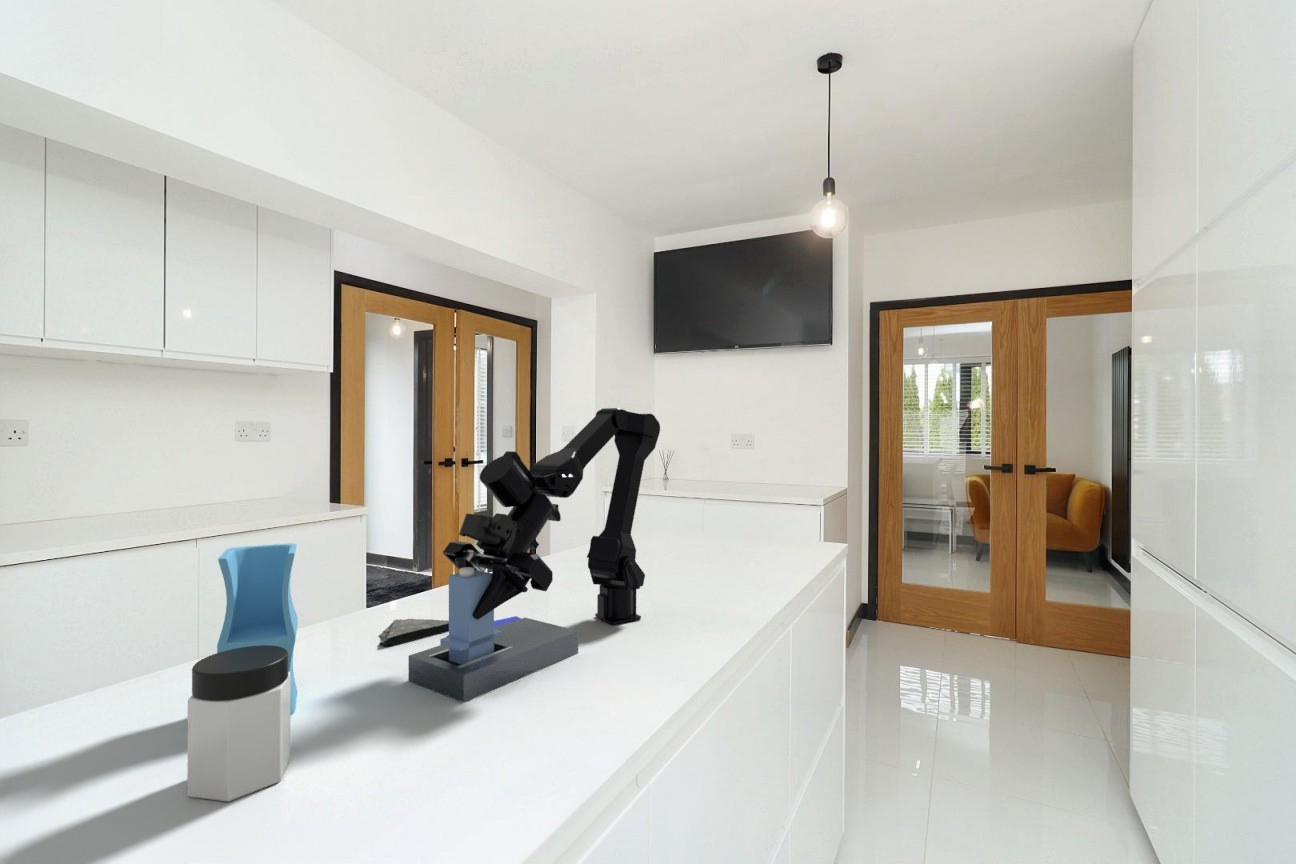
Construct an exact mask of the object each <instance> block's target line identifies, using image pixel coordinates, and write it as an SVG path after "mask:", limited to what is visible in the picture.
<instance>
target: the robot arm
mask: <svg viewBox="0 0 1296 864" xmlns="http://www.w3.org/2000/svg"><path fill="white" fill-rule="evenodd" d="M660 432H661V425H660V422H659V420H657V418H656V416H655V415H654V414H653V413H637V412H632V411H628V410H626V409H624V408H623V409H622V408H621V407H613V408H612V407H611V408H610V407H607V408H606V407H605V408H601V409H599V410H597V412H596V413H595V415H594V417H593V418H592V419H591V420H590V421H589V422H588V423H587V424H586V425H585V426H584V427H583V428H581V430H580V431H579V432H578V433H577V434H576V435H575V436H574V437H573V438H572V439H571V440H570V441H569V442H568V443H566V445H565V446H564V447H563V448H561V449H560V450H558V451H555V452H553V453H550V454H548V455H546V456H544V457H543V458H541V459H539V460H538V461H537V462H535V463H534V464H533V465H532V466H531V468H528V467H527V466H526V464H524V462H523V460H522V458H521V456H520V455H519V453H517V451H512V450H511V451H508V450H507V451H505V453H504V454H503V455H501V456H499V457H496V458H495V459H493V460H492V461H491V462H489V463H488V464H486V465H484V466H483V468H482V470H481V471H480V473H479V481H480V482H481V483H482V484H483V485H484V486H485V488H486V489H487V491H489V492H490V494H491V495H492V496H493V497H494V498H495V499H496V500H497V502H498V503H499V504H500V505H501V506H502V507H504V508H511V509H510V511H509V512H508V514H507V513H498V512H497V513H496V514H494V516H493V517H492V516H487V515H483V514H482V515H481V514H475V513H474V514H473V513H466V514H465V515H464V519H463V522H462V524H461V528H460V530H459V533H458V535H459V536H462V537H467V538H470V539H473V540H476V541H477V542H476V544H475V545H476V547H478V548H479V549H480V550H483V552H482V553H481V552H480V551H479V550H478V549H477V548H476V547H475V546H474V545H473V544H472V543H471V542H465V541H464V542H463V541H458V540H456V541H451V542H449V543H448V544H447V545H446V547H445V549H444V550H443V551H442V554H443V555H444V556H445V557H446V558H447V560H449V561H450V563H452V564H453V565H454V567H456V568H457V570H459V569H460V568H464V567H473V568H474V570H477V571H482V572H486V570H487V569H488V570H491V572H492V580H491V582H490V583H489V585H488V587H487V589H486V590H485V592H484V594H483V596H482V597H481V599H480V601H479V602H478V604H477V606H476V608H475V610H474V612H473V615H472V616H473V617H474V618H475V619H477V620H478V619H480V618H481V617H483V616H484V615H486V614H487V613H489V612H490V611H492V610H493V609H494V610H495V609H497V608H498V607H500V606H501V605H503V604H504V603H506V602H508V601H509V600H511V599H513V598H515V597H517V596H518V595H520V594H522V593H527V592H528V590H529V588H528V587H527V585H528V583H530V586H531V588H532V590H537V591H541V592H547V591H548V590H549V587H550V585H551V584H552V582H553V577H554V576H553V575H554V574H553V571H552V569H551V568H550V567H549V566H548V564H546V562H544V560H543V559H542V558H541V557H540V556H539V554H537V553H533V552H529V550H537V548H538V547H539V545H540V543H539V542H538V541H537V540H536V539H537V537H538V536H539V535H540V534H541V532H542V530H543V528H544V526H546V523H548V521H550V522H552V521H554V522H560V521H561V520H562V519H561V512H560V510H559V504H558V503H552V501H551V500H550V499H549V497H551V498H563V499H565V498H566V499H567V498H569V497H571V496H572V495H573V494H574V493H575V491H577V490H576V489H577V488H578V487H579V485H580V484H581V483H582V480H583V478H584V469H585V468H586V467H587V465H588V464H589V463H590V462H591V461H592V460H593V459H594V458H595V456H596V455H597V454H598V453H599V452H600V451H601V450H602V449H604V447H605V446H606V445H607V444H608V443H609V441H610V440H611V439H612V438H613V437H614V444H615V448H616V450H617V453H618V455H619V456H618V459H617V464H616V471H615V476H614V480H613V481H614V482H613V486H612V490H611V496H610V501H609V505H608V511H607V516H606V520H605V526H604V529H603V530H602V532H601V533H600V534H599V535H598V536H597V535H593V536H591V539H590V544H589V550H588V553H587V555H586V558H588V559H587V567H588V569H589V574H590V577H591V581H592V584H593V585H595V586H596V585H598V586H599V593H598V594H597V598H596V599H597V604H596V605H597V612H596V613H595V614H594V616H595V617H597V618H598V619H599V620H602V621H603V622H605V623H607V624H610V625H617V624H623V623H628V622H633V621H638V620H641V618H642V616H641V615H639V614H637V590H639V589H641V587H643V586H644V582H645V578H646V577H645V576H646V574H645V573H644V571H643V569H641V567H640V566H639V564H638V563H637V562H636V558H637V557H636V555H637V548H636V546H635V543H634V540H633V537H632V529H633V524H634V520H635V519H634V518H635V514H636V508H637V504H638V503H637V502H638V497H639V492H640V487H641V480H642V476H643V470H644V465H645V461H646V460H647V458H648V457H649V456H650V455H651V453H652V452H654V450H655V448H656V447H657V443H658V440H659V436H660Z"/></svg>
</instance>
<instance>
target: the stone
mask: <svg viewBox="0 0 1296 864" xmlns="http://www.w3.org/2000/svg"><path fill="white" fill-rule="evenodd" d="M443 633H449V620H444V619H443V620H439V619H424V618H422V619H421V618H418V619H417V618H407V619H402V618H401V619H394V620H393V621H392V623H390V624H389V625H388V627H387V628H385V629H384V630H383V631H382V632H381V633H380V634H378V637H380V638H381V639H382V640H381V641H380V642H379V646H388V645H389V646H399V645H404V644H407V643H410V642H414V641H419V640H421V639H425V638H428V637H429V638H430V637H433V636H437V635H440V634H443Z"/></svg>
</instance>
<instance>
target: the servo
mask: <svg viewBox="0 0 1296 864" xmlns="http://www.w3.org/2000/svg"><path fill="white" fill-rule="evenodd" d="M458 570H459V573H454V574H450V575H449V574H448V621H449V631H448V636H445V637H443V638H440V639H439V640H440V643H439V646H440V645H443V646H446V647H449V661H452V662H455V663H458V664H461V665H462V664H465V663H467V662H470V661H473V660H475V659H478V658H481V657H483V656H486V655H489V654H492V653H494V639H497V638H499V637H502V631H499V630H495V629H494V621H495V609H493V610H492V611H490V612H489V613H487V614H486V615H484V616H483V617H481V618H480V619H478V620H477V619H475V618H474V617H473V616H472V615H473V612H474V610H475V608H476V606H477V604H478V602H479V601H480V599H481V597H482V596H483V594H484V592H485V590H486V589H487V587H488V585H489V583H490V582H491V580H492V573H491V572H488V571H487V572H486V571H484V572H482V571H477V570H474V568H473V567H464V568H460V569H458Z"/></svg>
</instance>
